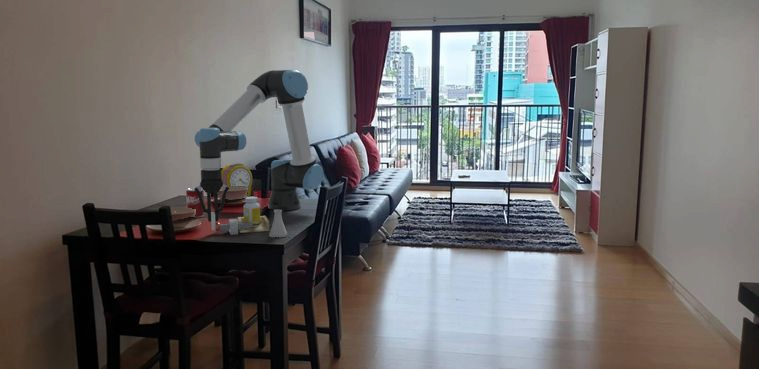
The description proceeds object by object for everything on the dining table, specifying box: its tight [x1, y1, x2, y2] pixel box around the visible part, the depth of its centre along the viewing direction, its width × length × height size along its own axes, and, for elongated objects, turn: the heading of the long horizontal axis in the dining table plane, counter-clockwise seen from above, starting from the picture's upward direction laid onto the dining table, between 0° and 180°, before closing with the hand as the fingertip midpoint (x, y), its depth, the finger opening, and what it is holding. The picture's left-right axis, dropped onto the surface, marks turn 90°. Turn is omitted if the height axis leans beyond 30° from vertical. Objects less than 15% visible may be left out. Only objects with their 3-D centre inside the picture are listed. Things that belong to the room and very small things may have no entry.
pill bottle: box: [242, 196, 261, 227], centre depth 225 cm, size 6×6×12 cm
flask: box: [268, 210, 289, 239], centre depth 213 cm, size 7×7×10 cm
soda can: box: [185, 187, 206, 219], centre depth 245 cm, size 7×7×12 cm
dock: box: [236, 215, 271, 234], centre depth 225 cm, size 11×12×3 cm
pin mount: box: [228, 218, 239, 236], centre depth 218 cm, size 3×6×5 cm, turn 18°
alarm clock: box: [221, 162, 253, 197], centre depth 286 cm, size 15×8×18 cm, turn 137°
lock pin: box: [215, 221, 251, 233], centre depth 218 cm, size 13×4×4 cm, turn 108°
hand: (213, 229), depth 216 cm, fingers closed
